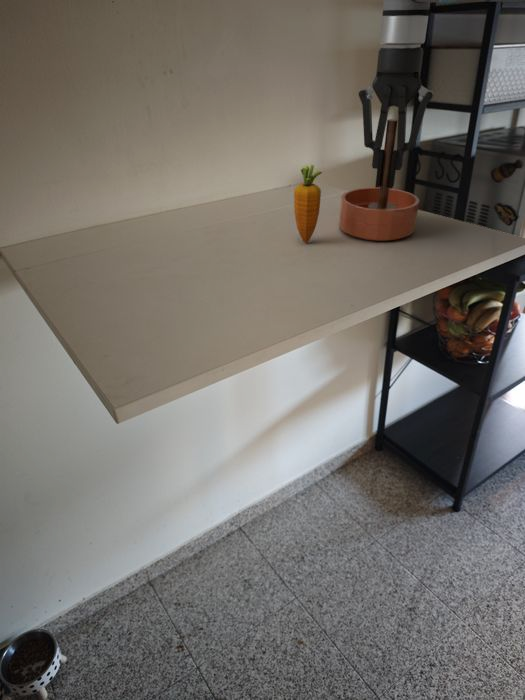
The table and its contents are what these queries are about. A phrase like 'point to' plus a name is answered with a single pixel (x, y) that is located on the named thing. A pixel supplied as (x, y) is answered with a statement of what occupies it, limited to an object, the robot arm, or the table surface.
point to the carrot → (307, 204)
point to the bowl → (378, 214)
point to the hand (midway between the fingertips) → (384, 185)
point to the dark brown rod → (386, 167)
